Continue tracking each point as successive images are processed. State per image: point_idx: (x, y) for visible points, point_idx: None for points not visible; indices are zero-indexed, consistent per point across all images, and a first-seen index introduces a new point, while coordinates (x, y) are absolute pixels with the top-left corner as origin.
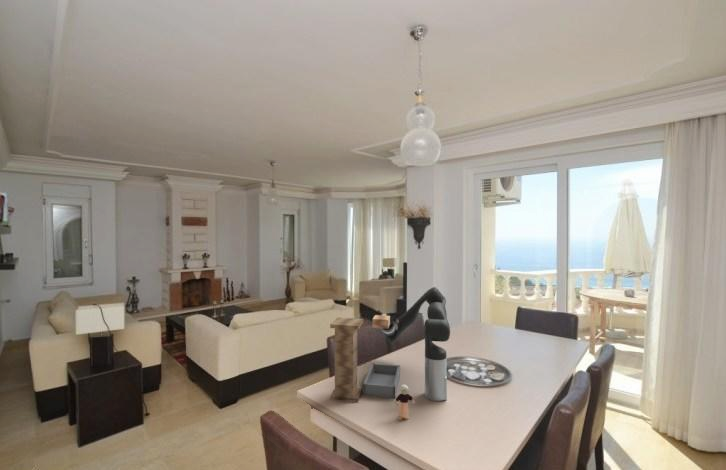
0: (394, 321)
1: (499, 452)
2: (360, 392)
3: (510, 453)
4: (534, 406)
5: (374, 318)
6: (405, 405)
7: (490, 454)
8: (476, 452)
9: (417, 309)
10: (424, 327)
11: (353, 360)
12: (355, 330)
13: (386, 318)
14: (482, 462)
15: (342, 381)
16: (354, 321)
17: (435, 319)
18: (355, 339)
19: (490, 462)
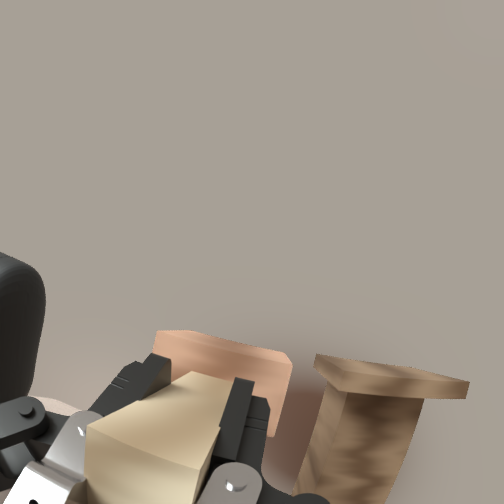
0: (17, 448)
1: (44, 402)
2: None
3: (34, 396)
4: None
5: (275, 351)
6: None
7: (56, 407)
8: (69, 414)
9: None
10: (36, 302)
11: (300, 473)
12: (335, 393)
13: (196, 334)
14: (76, 409)
15: None
16: (360, 366)
17: (5, 255)
18: (325, 429)
19: (67, 405)
